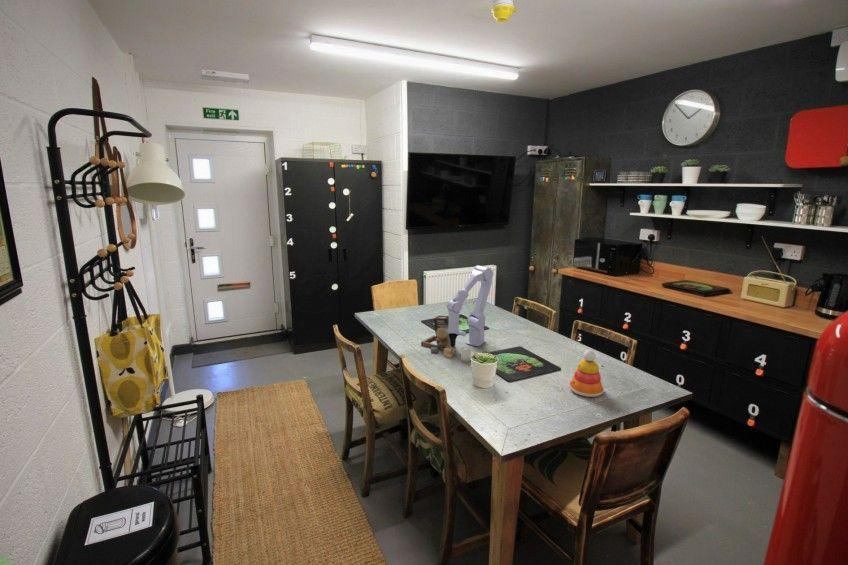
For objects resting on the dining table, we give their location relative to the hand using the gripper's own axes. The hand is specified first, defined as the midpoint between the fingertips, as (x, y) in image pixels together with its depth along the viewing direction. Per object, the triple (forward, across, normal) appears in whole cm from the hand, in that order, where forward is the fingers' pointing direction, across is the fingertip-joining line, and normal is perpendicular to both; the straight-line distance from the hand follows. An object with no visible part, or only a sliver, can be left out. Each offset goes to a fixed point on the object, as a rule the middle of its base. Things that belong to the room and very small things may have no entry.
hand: (452, 346), depth 225 cm
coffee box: (+1, -5, +2) cm, 5 cm away
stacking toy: (+2, +72, -7) cm, 72 cm away
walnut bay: (+2, -10, +1) cm, 10 cm away
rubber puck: (+2, -6, -9) cm, 11 cm away
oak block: (+2, +3, -8) cm, 9 cm away
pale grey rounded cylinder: (+2, +13, -9) cm, 16 cm away
